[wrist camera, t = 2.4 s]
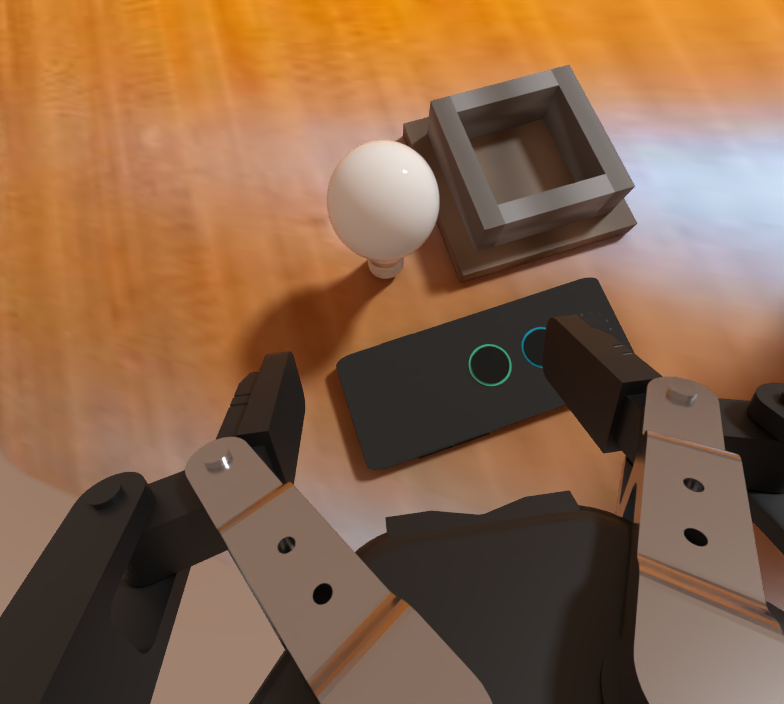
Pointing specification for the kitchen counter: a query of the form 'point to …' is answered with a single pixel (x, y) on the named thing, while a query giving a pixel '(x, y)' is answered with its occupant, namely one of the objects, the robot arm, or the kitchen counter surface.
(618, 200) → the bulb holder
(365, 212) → the lightbulb
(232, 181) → the kitchen counter surface
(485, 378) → the smart home device
